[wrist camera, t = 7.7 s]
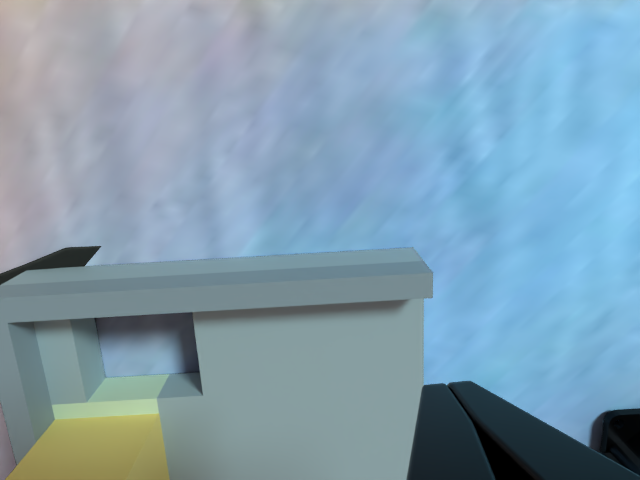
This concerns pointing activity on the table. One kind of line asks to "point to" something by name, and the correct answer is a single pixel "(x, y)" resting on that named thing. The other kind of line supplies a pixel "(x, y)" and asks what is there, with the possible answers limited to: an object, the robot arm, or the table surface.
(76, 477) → the block
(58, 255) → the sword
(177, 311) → the tray
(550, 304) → the table surface
